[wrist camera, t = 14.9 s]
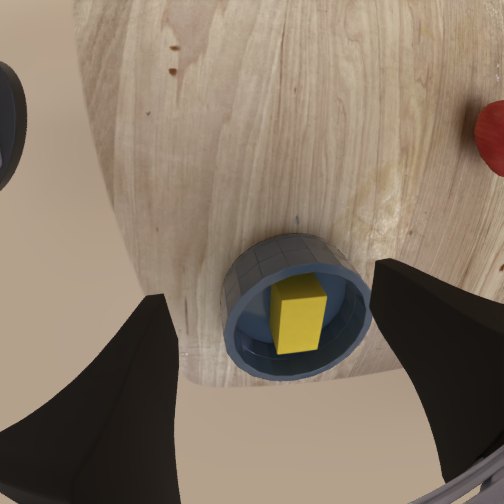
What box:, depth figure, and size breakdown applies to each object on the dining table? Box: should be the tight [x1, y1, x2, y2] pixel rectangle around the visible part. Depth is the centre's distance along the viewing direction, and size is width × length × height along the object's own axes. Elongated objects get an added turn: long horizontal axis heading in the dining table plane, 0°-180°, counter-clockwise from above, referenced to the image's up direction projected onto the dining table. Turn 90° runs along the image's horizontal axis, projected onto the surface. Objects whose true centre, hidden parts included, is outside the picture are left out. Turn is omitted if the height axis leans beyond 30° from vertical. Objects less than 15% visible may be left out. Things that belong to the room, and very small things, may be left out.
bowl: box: [220, 234, 373, 381], centre depth 20 cm, size 10×10×4 cm
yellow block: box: [269, 272, 327, 354], centre depth 20 cm, size 3×4×3 cm, turn 179°
